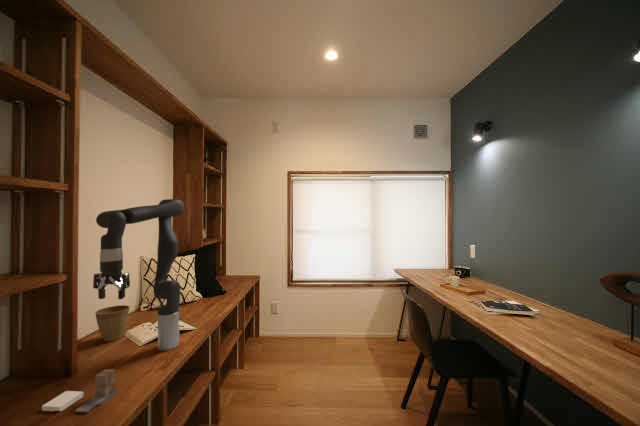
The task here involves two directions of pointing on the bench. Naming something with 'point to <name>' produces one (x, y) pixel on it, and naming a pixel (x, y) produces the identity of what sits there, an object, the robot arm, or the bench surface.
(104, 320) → the plant pot
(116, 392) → the mat
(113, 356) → the bench surface
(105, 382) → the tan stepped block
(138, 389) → the bench surface
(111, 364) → the bench surface
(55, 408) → the slab tile
